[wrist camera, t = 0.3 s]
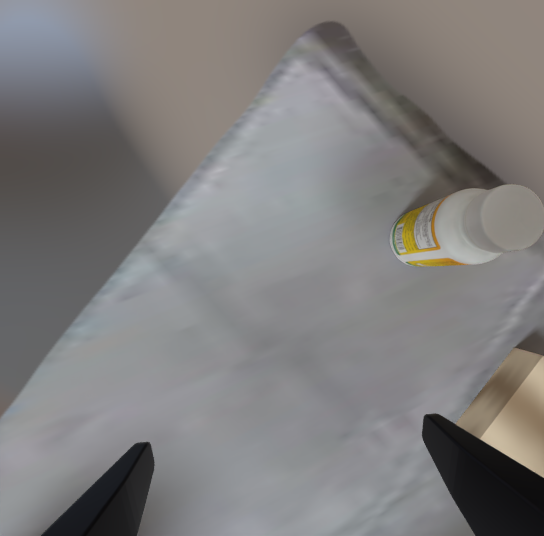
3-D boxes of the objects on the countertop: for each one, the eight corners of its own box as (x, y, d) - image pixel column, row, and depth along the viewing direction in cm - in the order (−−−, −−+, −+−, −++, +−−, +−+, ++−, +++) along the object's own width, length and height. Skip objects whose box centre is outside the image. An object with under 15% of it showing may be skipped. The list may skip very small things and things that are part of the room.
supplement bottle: (376, 239, 24) (450, 215, 15) (414, 200, 25) (511, 152, 15) (416, 279, 24) (516, 281, 15) (454, 239, 25) (575, 216, 15)
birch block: (525, 493, 25) (562, 523, 22) (447, 427, 25) (472, 448, 22) (586, 411, 25) (630, 430, 22) (509, 346, 25) (543, 355, 22)
